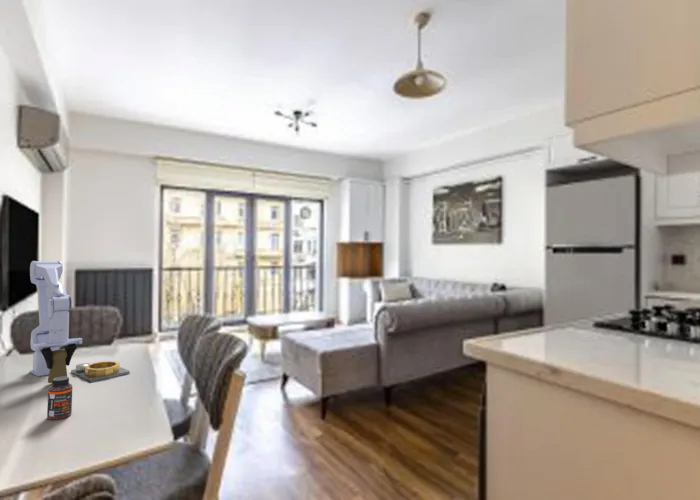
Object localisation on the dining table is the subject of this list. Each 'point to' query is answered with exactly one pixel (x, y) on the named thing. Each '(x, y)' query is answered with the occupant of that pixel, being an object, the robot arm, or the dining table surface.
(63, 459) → the dining table surface
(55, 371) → the cork
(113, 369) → the flanged metal plate
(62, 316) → the robot arm
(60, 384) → the supplement bottle
